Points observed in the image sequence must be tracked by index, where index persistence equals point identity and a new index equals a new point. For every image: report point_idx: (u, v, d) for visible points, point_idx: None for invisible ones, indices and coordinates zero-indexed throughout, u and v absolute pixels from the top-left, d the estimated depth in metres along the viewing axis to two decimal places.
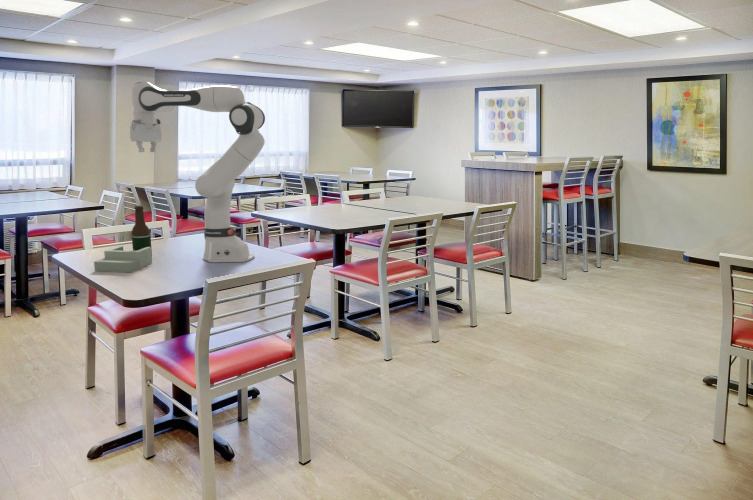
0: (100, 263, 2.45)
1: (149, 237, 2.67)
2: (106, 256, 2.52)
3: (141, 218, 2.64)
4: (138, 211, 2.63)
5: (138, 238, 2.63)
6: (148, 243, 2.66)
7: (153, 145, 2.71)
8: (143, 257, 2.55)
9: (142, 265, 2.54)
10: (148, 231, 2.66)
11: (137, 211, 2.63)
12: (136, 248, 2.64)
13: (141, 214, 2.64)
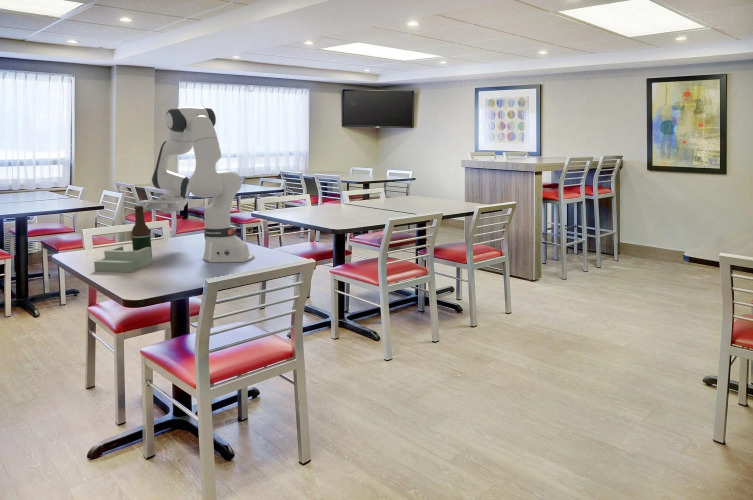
0: (100, 263, 2.45)
1: (149, 237, 2.67)
2: (106, 256, 2.52)
3: (141, 218, 2.64)
4: (138, 211, 2.63)
5: (138, 238, 2.63)
6: (148, 243, 2.66)
7: None
8: (143, 257, 2.55)
9: (142, 265, 2.54)
10: (148, 231, 2.66)
11: (137, 211, 2.63)
12: (136, 248, 2.64)
13: (141, 214, 2.64)
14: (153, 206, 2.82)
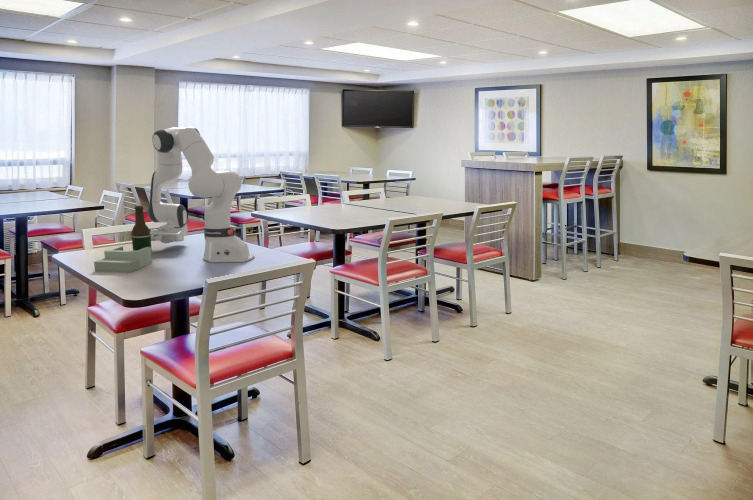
0: (100, 263, 2.45)
1: (149, 237, 2.67)
2: (106, 256, 2.52)
3: (141, 218, 2.64)
4: (138, 211, 2.63)
5: (138, 238, 2.63)
6: (148, 243, 2.66)
7: None
8: (143, 257, 2.55)
9: (142, 265, 2.54)
10: (148, 231, 2.66)
11: (137, 211, 2.63)
12: (136, 248, 2.64)
13: (141, 214, 2.64)
14: None
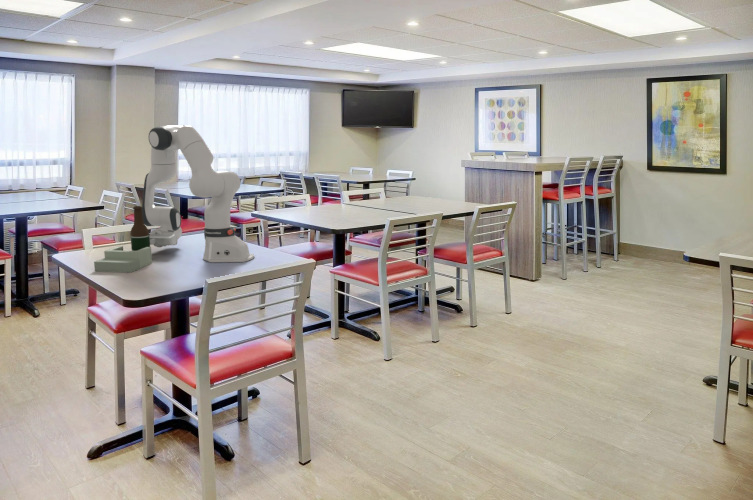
0: (100, 263, 2.45)
1: (148, 237, 2.66)
2: (106, 256, 2.52)
3: (140, 218, 2.63)
4: (137, 211, 2.62)
5: (137, 238, 2.62)
6: (147, 243, 2.65)
7: None
8: (143, 257, 2.55)
9: (142, 265, 2.54)
10: (147, 231, 2.65)
11: (136, 211, 2.62)
12: (135, 248, 2.63)
13: (140, 214, 2.63)
14: None
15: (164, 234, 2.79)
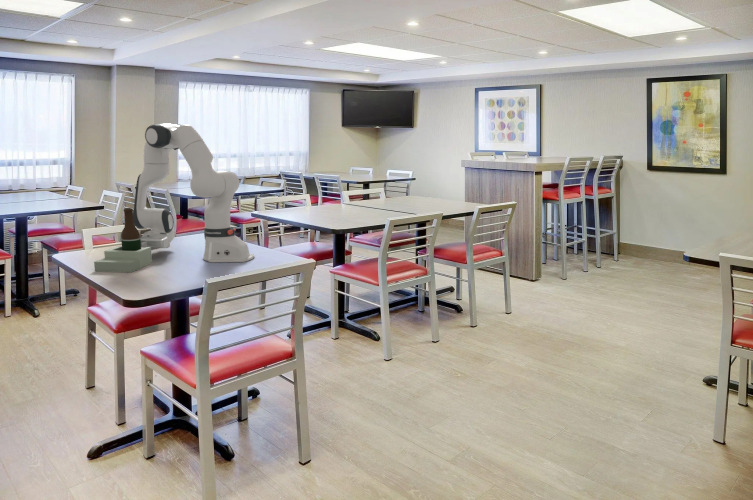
0: (100, 263, 2.45)
1: (139, 240, 2.59)
2: (106, 256, 2.52)
3: (130, 221, 2.56)
4: (127, 213, 2.55)
5: (128, 241, 2.55)
6: (138, 246, 2.58)
7: None
8: (143, 257, 2.55)
9: (142, 265, 2.54)
10: (138, 234, 2.58)
11: (126, 213, 2.55)
12: None
13: (130, 217, 2.56)
14: None
15: (156, 237, 2.72)
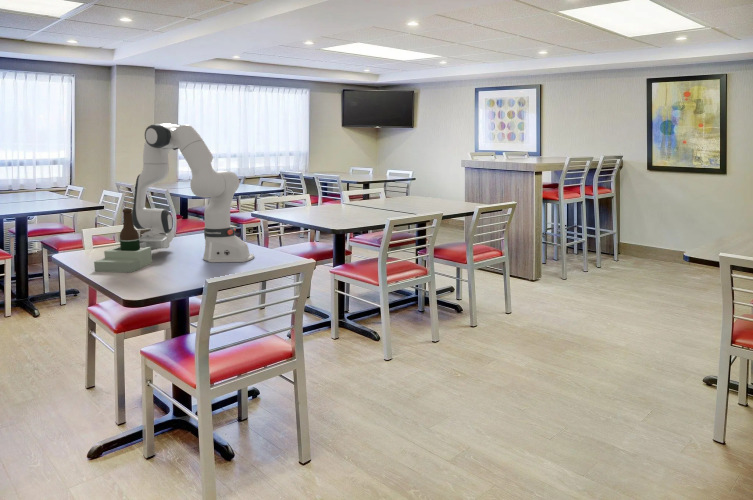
0: (100, 263, 2.45)
1: (138, 241, 2.58)
2: (106, 256, 2.52)
3: (129, 221, 2.55)
4: (126, 214, 2.54)
5: (126, 241, 2.54)
6: (136, 247, 2.57)
7: None
8: (143, 257, 2.55)
9: (142, 265, 2.54)
10: (137, 235, 2.57)
11: (125, 214, 2.54)
12: None
13: (129, 217, 2.55)
14: None
15: (156, 237, 2.72)
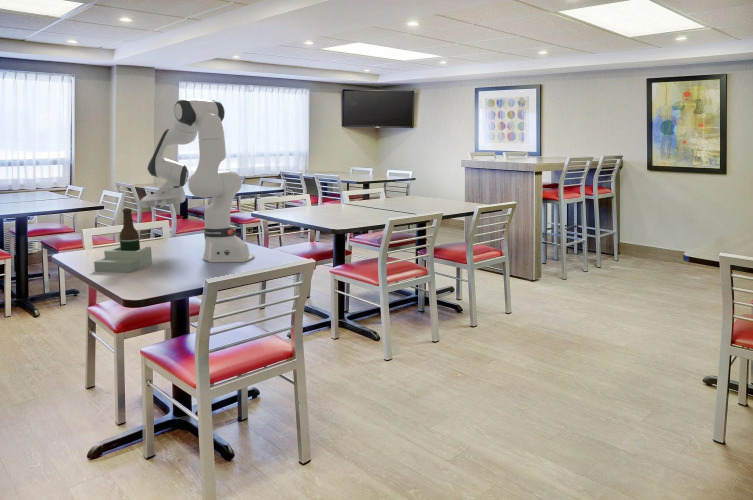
0: (100, 263, 2.45)
1: (138, 241, 2.58)
2: (106, 256, 2.52)
3: (129, 221, 2.55)
4: (126, 214, 2.54)
5: (126, 241, 2.54)
6: (136, 247, 2.57)
7: None
8: (143, 257, 2.55)
9: (142, 265, 2.54)
10: (137, 235, 2.57)
11: (125, 214, 2.54)
12: None
13: (129, 217, 2.55)
14: None
15: (171, 192, 2.83)
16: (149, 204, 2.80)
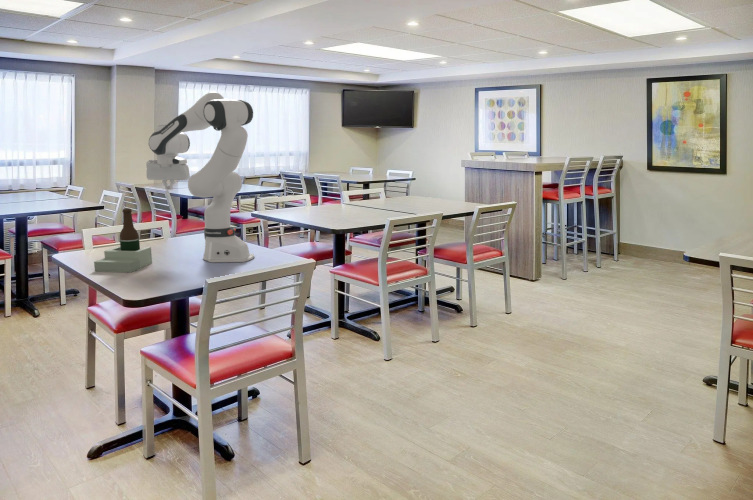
0: (100, 263, 2.45)
1: (138, 241, 2.58)
2: (106, 256, 2.52)
3: (129, 221, 2.55)
4: (126, 214, 2.54)
5: (126, 242, 2.54)
6: (136, 247, 2.57)
7: None
8: (143, 257, 2.55)
9: (142, 265, 2.54)
10: (136, 235, 2.57)
11: (125, 214, 2.54)
12: None
13: (129, 217, 2.55)
14: None
15: (173, 167, 2.80)
16: None
